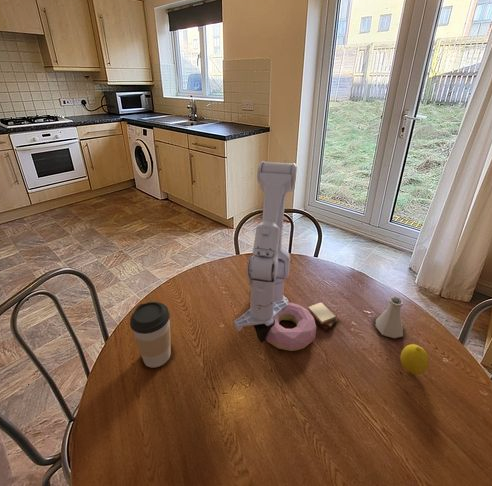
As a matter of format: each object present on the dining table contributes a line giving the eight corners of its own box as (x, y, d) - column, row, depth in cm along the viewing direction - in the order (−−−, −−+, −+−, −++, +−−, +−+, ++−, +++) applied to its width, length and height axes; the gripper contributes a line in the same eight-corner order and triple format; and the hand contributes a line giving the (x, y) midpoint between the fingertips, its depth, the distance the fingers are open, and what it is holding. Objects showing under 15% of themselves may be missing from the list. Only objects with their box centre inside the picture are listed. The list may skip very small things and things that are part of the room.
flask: (397, 319, 85) (405, 292, 80) (407, 339, 78) (416, 311, 74) (371, 317, 85) (377, 290, 81) (379, 337, 79) (387, 309, 74)
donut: (249, 337, 79) (249, 323, 77) (275, 304, 91) (276, 291, 89) (302, 365, 71) (304, 351, 69) (324, 325, 83) (326, 312, 81)
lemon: (420, 364, 71) (429, 341, 68) (425, 385, 67) (434, 360, 63) (395, 358, 73) (403, 334, 70) (398, 377, 68) (406, 353, 65)
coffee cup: (182, 347, 76) (176, 303, 70) (159, 377, 69) (150, 330, 63) (155, 336, 80) (147, 293, 74) (130, 363, 72) (119, 317, 66)
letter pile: (302, 316, 86) (303, 310, 85) (317, 306, 90) (318, 300, 89) (325, 334, 80) (326, 327, 79) (340, 321, 84) (341, 315, 83)
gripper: (243, 320, 64) (244, 362, 70) (296, 298, 71) (292, 338, 76) (229, 300, 70) (231, 341, 76) (279, 281, 76) (277, 320, 82)
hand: (261, 338), depth 76 cm, fingers closed
